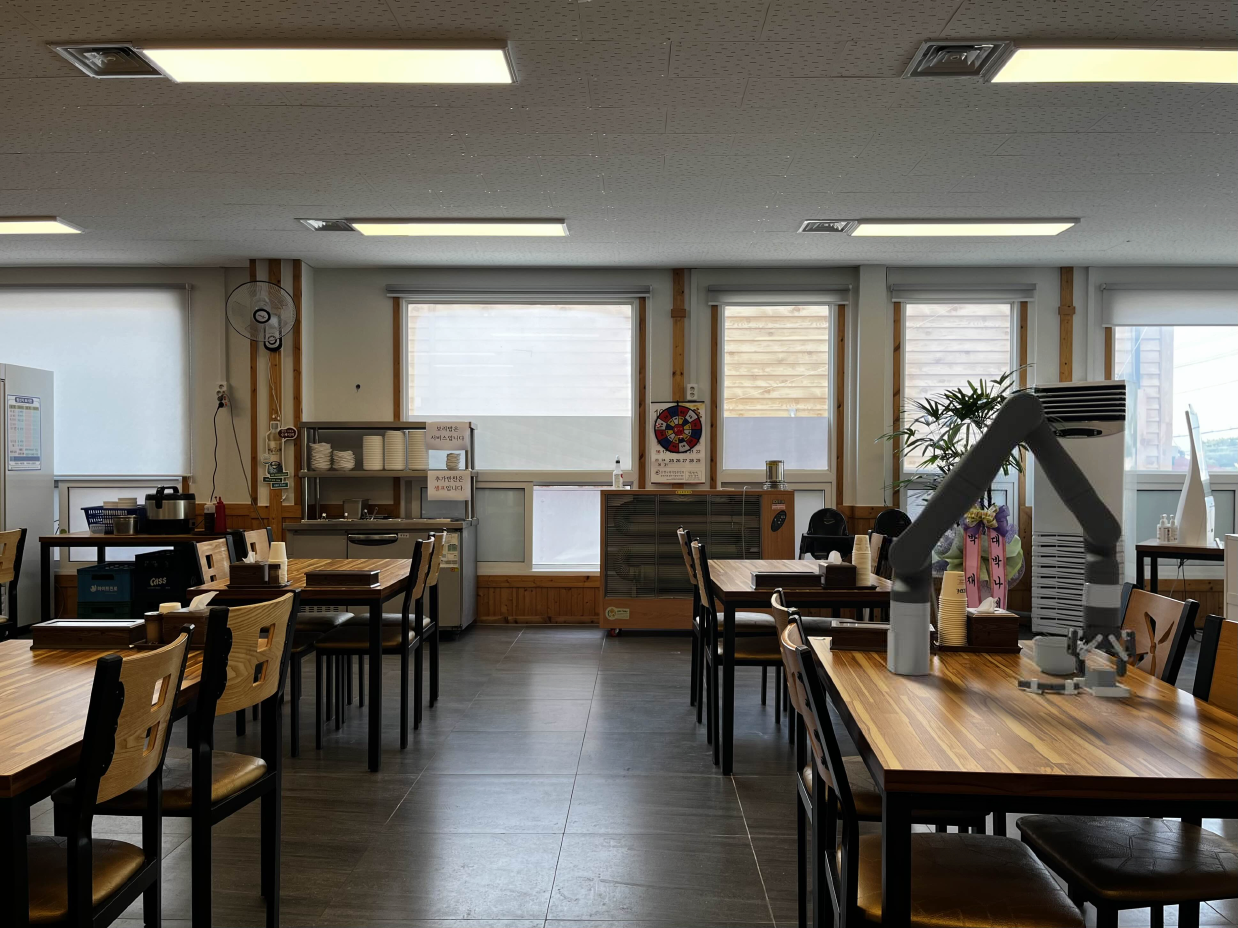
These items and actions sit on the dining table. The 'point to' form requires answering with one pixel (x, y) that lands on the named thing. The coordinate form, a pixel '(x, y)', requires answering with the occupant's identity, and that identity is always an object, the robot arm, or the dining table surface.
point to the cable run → (1046, 685)
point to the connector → (1099, 676)
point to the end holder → (1105, 689)
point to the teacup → (1053, 655)
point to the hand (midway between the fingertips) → (1100, 675)
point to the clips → (1068, 690)
